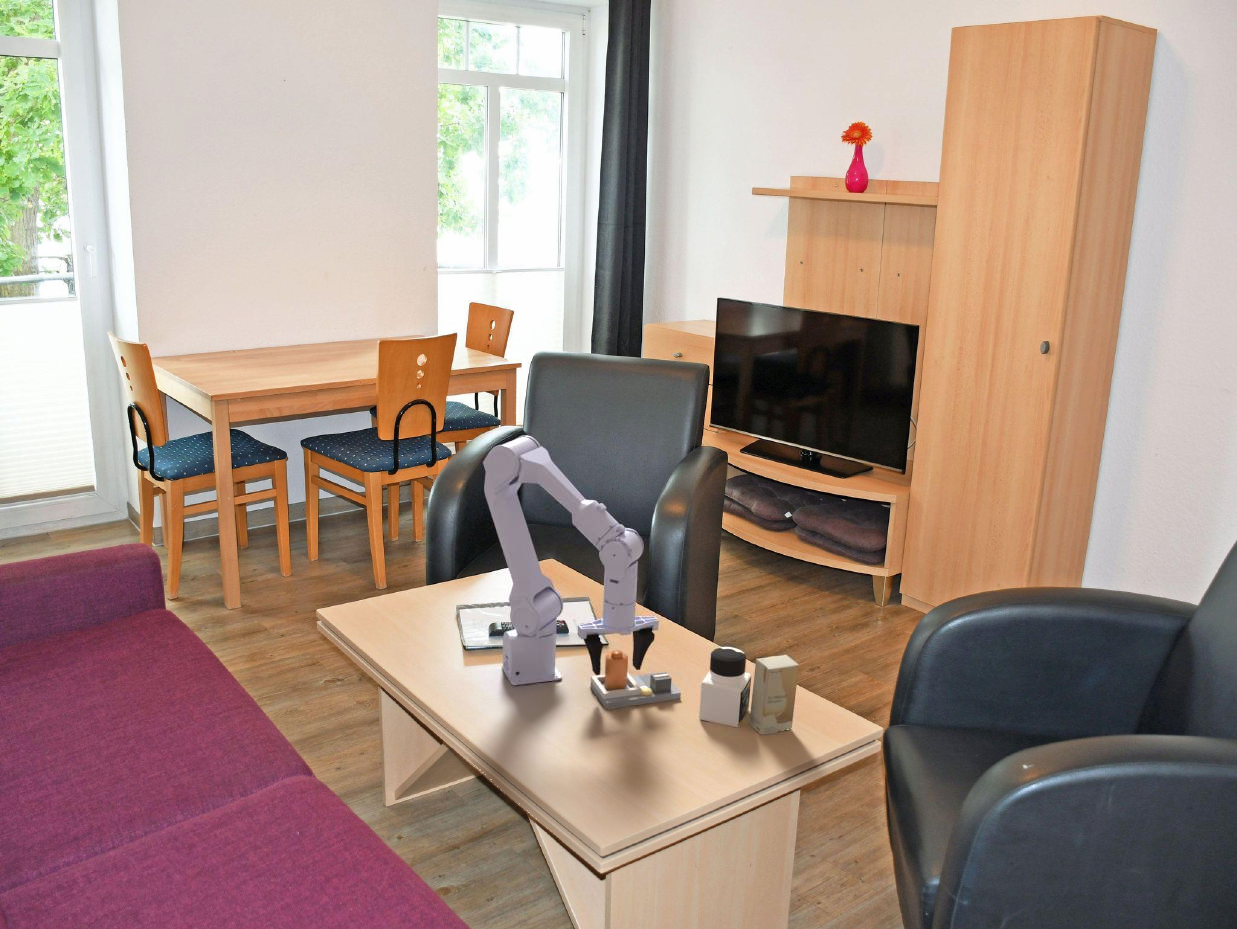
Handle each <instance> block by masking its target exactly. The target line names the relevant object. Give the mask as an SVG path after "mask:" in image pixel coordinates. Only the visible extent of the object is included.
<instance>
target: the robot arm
mask: <svg viewBox="0 0 1237 929" xmlns="http://www.w3.org/2000/svg"><path fill="white" fill-rule="evenodd" d="M482 464H483V466H484V470H485V476H484V486H483V489H484V490H483V491H484V496H485V499H486V502H487V505H488V509H489V512H490V514H491V518H492V521H493V523H494V527H495V529H496V530H495V531H496V534H497V537H498V540H499V543H500V546H501V549H502V552H503V556H504V558H505V561H506V564H507V568H508V571H509V574H510V577H511V580H512V587H511V590H510V592H509V597H508V602H509V604H510V614H509V617H510V623H511V624H512V626H513V628H514V629H510V630H507V631H504V633H503V638H502V665H501V668H502V670H503V672H504V674H505V676H506V677H507V679H508V681H509V682H510V684H511V685H512V686H518V685H519V686H520V685H522V686H523V685H529V684H536V683H542V682H543V683H545V682H550V681H551V682H553V681H558V680H562V679H563V677H562V675H561V673H560V671H559V670H558V668H557V667H556V656H557V655H556V650H557V623H558V622H557V620H558V619H557V618H559V616H561V615H562V613H563V612H564V611H563V610H564V601H563V598H562V595H561V594H560V592H558V590H557V589H556V588H555V585H554V583H553V580H552V579H551V578H549V577H548V576H546V575H545V574H543V573H542V569H541V567H540V563H539V560H538V556H537V554H536V550H535V548H534V547H535V546H534V544H533V540H532V538H531V534H530V531H529V528H528V525H527V521H526V519H525V516H524V512H523V508H522V506H521V502H520V500H519V496H518V490H519V489H520V487H521V485H522V484H537V485H539V486H540V487H542V488H543V490H545V491H546V492H547V493H548V494H549V495H551V496H552V497H553V498H554V499H555V500H556V501H557V502H559V504H561V505H562V506H563V507H564V508H565V509H566V510H567V511H568V512H569V513H571V520H572V525H573V526H574V527H575V528H576V529H577V530H578V531H579V532H580V533H581V534H582V535H583V536H584V537H585V538H586V539H587V540H588V541H589V542H590V543H591V544H593V546H594V547H595V548H596V549H597V550H598V551H599V554H598V557H599V559H600V561H601V564H602V565H603V566H604V567H603V568H604V576H603V577H604V578H603V579H604V580H603V598H602V599H603V600H602V618H598V619H596V620H592V621H589V622H586V623H581V624H577V636H578V637H579V639H581V640H583V642H584V644H585V646H586V648H587V651H588V654H589V658H590V661H591V662H590V663H591V668H592V669H591V670H592V672H593V674H594V676H597V675H601V663H602V661H601V659H602V652H603V647H604V644H603V642H602V641H601V637H600V636H605V635H615V634H618V635H620V636H629V635H632V646H633V649H632V666H633V667H634V669H635V670H636V671H640V670H641V668H642V664H643V661H644V659H645V656H646V654H647V652H648V650H649V648H650V646H651V645H652V643H653V642H654V641H655V637H656V636H655V633H654V632H653V631H658V630H659V624H660V623H659V622H660V621H659V619H658V618H657V617H656V616H655V615H651V616H648V615H647V616H640V615H636V610H637V609H636V606H637V587H638V586H637V585H638V566H639V565H638V564H639V562H638V560H639V558H640V557H642V555H643V551H644V548H645V546H644V544H645V543H644V540H643V539H642V536H640V534H639V533H638V531H636V529H633V528H628V527H625V526H624V525H623V524H620V523H619V522H618V521H617V520H616V519H615V518H614V517H613V516H612V515H611V513H609V512H608V511H607V506H606V505H605V504H604V503H602V502H601V503H599V502H598V501H597V500H594V499H586V498H585V497H584V495H582V494H581V492H579V490H578V489H577V488H576V487H575V486H574V485H573V483H572V482H571V481H570V480H569V479H568V478H567V476H566V475H564V473H563V472H562V471H561V470H560V469H559V468H558V466H557V465H556V464H555V463H554V462H553V460H552V458H551V457H550V454H549V451H548V450H547V449H546V448H545V447H544V446H542V445H541V444H540V442H538V440H536V438H534V437H533V436H530V435H520V436H518V437H517V438H515V439H513V440H511V441H508V442H505V443H503V444H499V445H496V446H494V447H492V449H490V450H489V452H488V454H487V455H486V456H485V458H484V460H483V461H482Z"/></svg>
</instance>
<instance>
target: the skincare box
mask: <svg viewBox="0 0 1237 929" xmlns="http://www.w3.org/2000/svg"><path fill="white" fill-rule="evenodd" d="M754 665H755V667H754V674H753V676H754V677H753V683H752V684H753V685H752V692H751V693H752V694H751V704H750V714H749V725H751V726H752V727H753V729H754V730H756V731H757V733H759V734H760V735H768V734H774V733H779V732H778V731H781V732H784V731H783V730H787V729H791V728H792V729H793V722H794V711H795V704H796V703H795V702H796V694H797V685H798V677H799V668H800V667H799V666H800V664H799V663H797V661H795V660H793V659H792V658H791V657H790V656H789V655H787V654H783V655H782V654H781V655H776V656H775V655H773V656H768V657H767V656H766V657H762V658H756V659H755V664H754ZM792 729H791V730H792ZM787 731H788V730H787Z"/></svg>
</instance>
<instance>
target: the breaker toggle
mask: <svg viewBox="0 0 1237 929" xmlns="http://www.w3.org/2000/svg"><path fill="white" fill-rule="evenodd" d="M662 672H663V671H662ZM655 673H656V674H651V673H650V674H651V677H650V688H651V689H652V690H653V691H654V692H655V693H660V692H668V691H671V682H672V677H671V676H670V675H669V674H668V673H667V671H665V672H663V673H658V672H655Z"/></svg>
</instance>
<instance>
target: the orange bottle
mask: <svg viewBox="0 0 1237 929" xmlns="http://www.w3.org/2000/svg"><path fill="white" fill-rule="evenodd" d="M604 659H605V660H604V661H605V663H604V664H605V665H604V675H605V684H604V688H605V689H606V690H607V691H612V690H620V689H627V672H628V670H629V669H628V668H629V665H628V664H629V656H628V655H627V654H626V653H624V652H623V651H622V650H620V649H616V650H615V649H614V650H612V651H611V652H608V653H606V655H605V658H604Z"/></svg>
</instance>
